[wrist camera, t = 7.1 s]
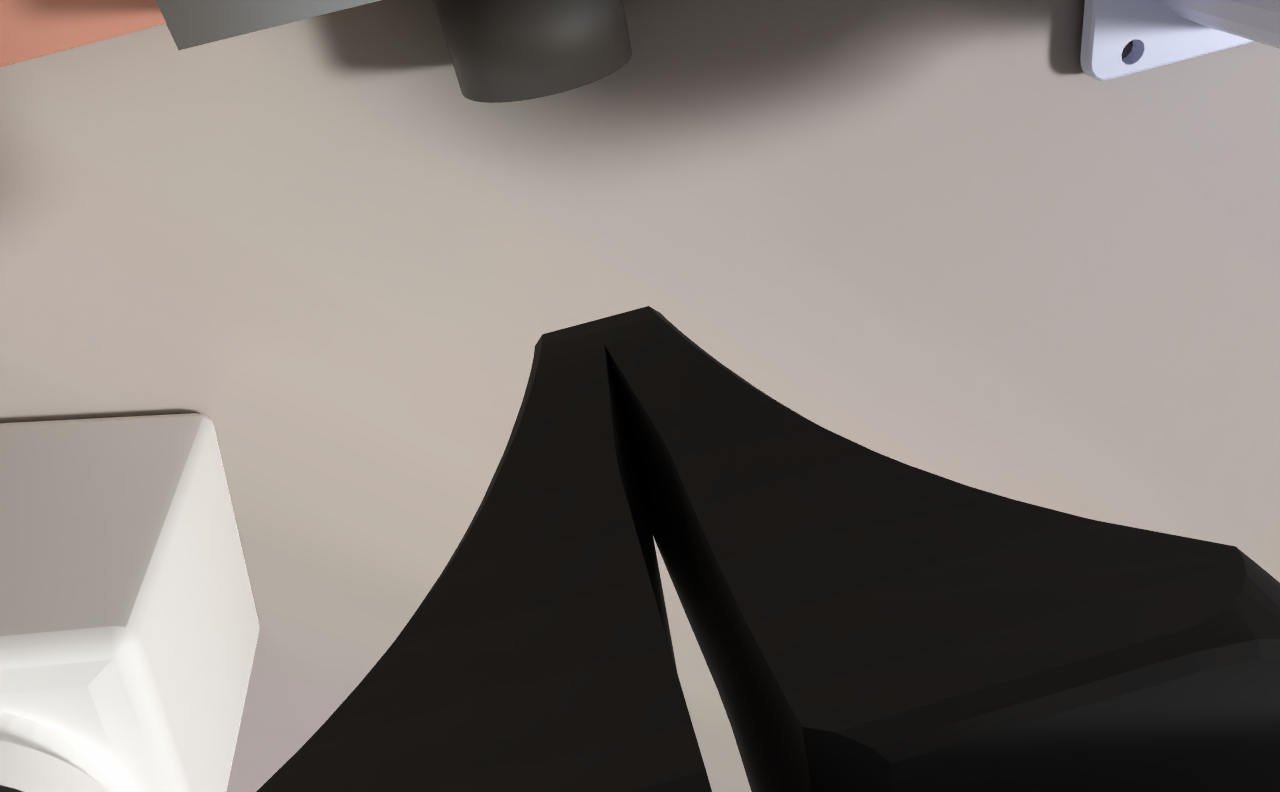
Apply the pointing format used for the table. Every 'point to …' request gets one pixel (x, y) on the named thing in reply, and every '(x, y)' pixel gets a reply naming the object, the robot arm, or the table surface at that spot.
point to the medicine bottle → (120, 607)
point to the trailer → (457, 38)
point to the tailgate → (68, 24)
